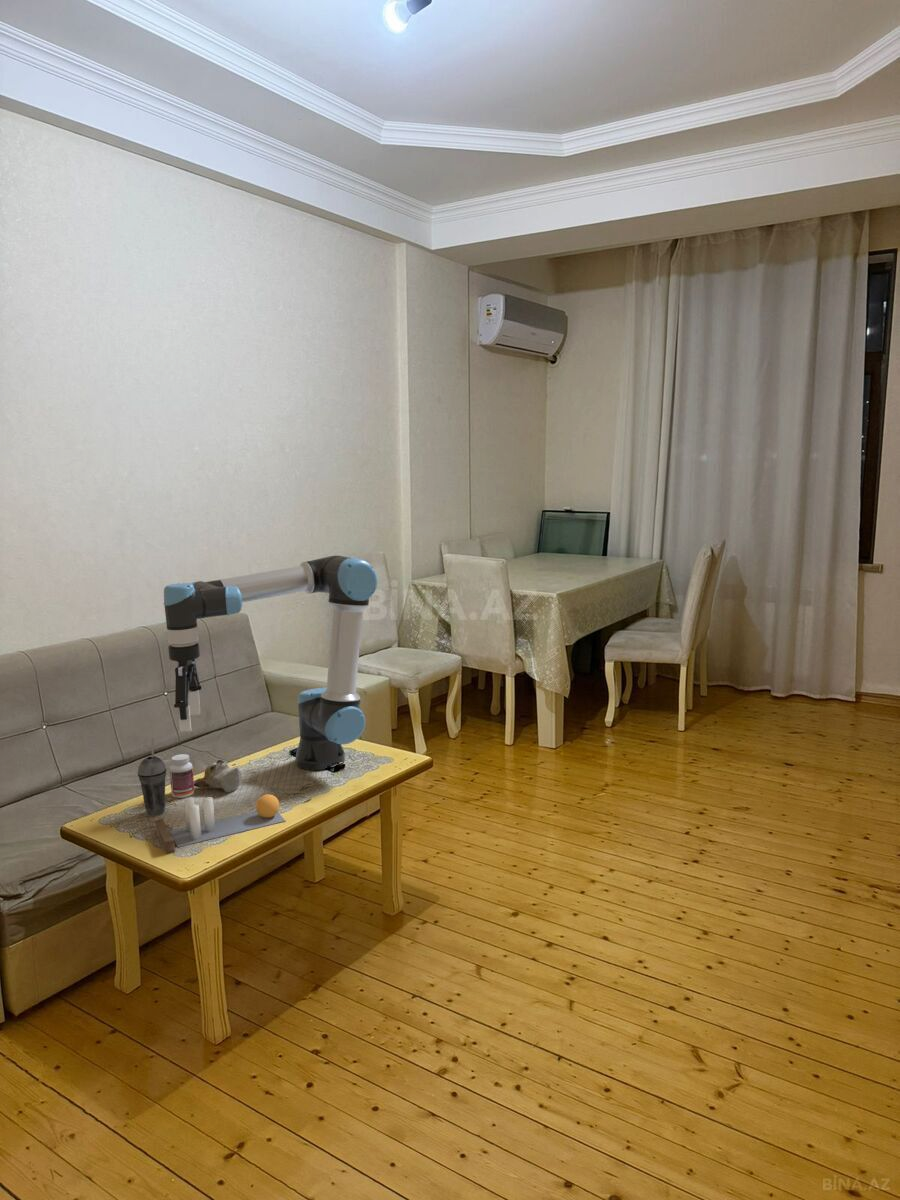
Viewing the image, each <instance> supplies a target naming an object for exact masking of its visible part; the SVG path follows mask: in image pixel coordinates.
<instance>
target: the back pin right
mask: <svg viewBox="0 0 900 1200" xmlns="http://www.w3.org/2000/svg"><path fill="white" fill-rule="evenodd" d="M192 804H196V800H195V797H192V796H188V797H185V798H184V809H185V821H186V827H187V832H191V829H190V817H189V806H190V805H192Z"/></svg>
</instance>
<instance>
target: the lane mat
mask: <svg viewBox="0 0 900 1200" xmlns="http://www.w3.org/2000/svg"><path fill="white" fill-rule="evenodd" d="M214 820H215V819H214ZM285 822H286V820H285V818H284V817H283V816H282V815H281V814H280V813H279V811H278V812H277V814H276V815H275V816H273V817H271V818H263V817H261V816H260V815H259V814H258V813H257V811H256V810H255V811H251V812H246V813H243V814H238V815H234V816H233V815H232V816H229V817H225V818H220V819H217V820H215V831H213V832H206V831H205V822H203V823H200V826H201V838H200V839H198V840H192V839H191V832H187V826H185V827H182V828H177V829H172V830H169V831H170V833H171V835H172V837H173V839H174V844H175V845H176V847H177V848H180V847H185V846H190V845H194V844H197V843H202V842H205V841H206V842H207V841H210V840H215V839H218V838H221V837H226V836H230V835H235V834H239V833H244V832H247V831H252V830H256V829H259V828H264V827H269V826H272V825H276V824H281V823H285Z"/></svg>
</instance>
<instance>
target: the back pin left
mask: <svg viewBox="0 0 900 1200" xmlns="http://www.w3.org/2000/svg"><path fill="white" fill-rule="evenodd" d="M200 814H201V813H200V805H199V804H198V803H195V804H192V805H190V806H189V817H190V829H191V839H192V840H198V839H200V838H201V826H200V824H201V817H200V816H201V815H200Z"/></svg>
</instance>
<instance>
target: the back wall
mask: <svg viewBox="0 0 900 1200" xmlns="http://www.w3.org/2000/svg"><path fill="white" fill-rule="evenodd" d="M154 829H155V833H156V835H157V837H158V840H159V842H160V844H161V846H162V848H163V851H164V852H165V854H166V855H168V854H171V853H175V852H176V851H175V849H176V848H175V841H174V839H173V837H172V835H171V833H170V831H171V830H170V829H169V828H168V825H167V824H166V821H165V820H164V818H160V819H156V820H154Z"/></svg>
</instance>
